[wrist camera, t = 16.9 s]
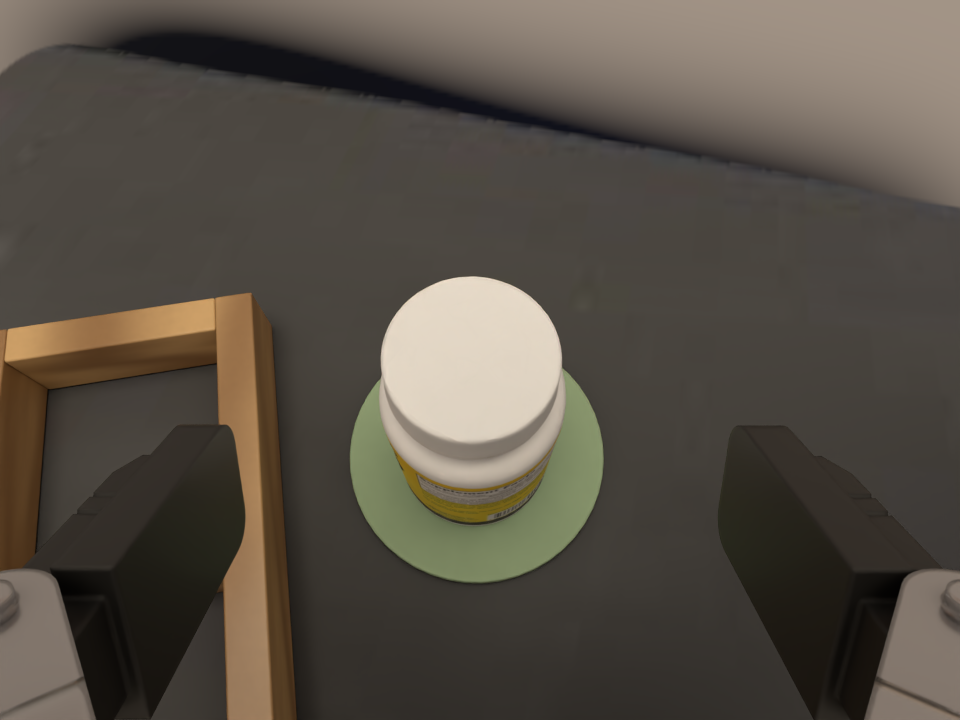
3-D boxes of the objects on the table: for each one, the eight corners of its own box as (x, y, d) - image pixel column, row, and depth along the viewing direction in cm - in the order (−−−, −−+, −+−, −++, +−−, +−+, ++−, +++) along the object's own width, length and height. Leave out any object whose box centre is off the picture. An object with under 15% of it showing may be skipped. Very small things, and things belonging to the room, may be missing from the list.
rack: (272, 325, 25) (251, 291, 23) (307, 879, 18) (283, 912, 16) (15, 364, 24) (-33, 334, 22) (-42, 955, 18) (-120, 999, 15)
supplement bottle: (418, 378, 24) (389, 243, 16) (553, 399, 23) (592, 273, 16) (388, 516, 22) (339, 439, 14) (535, 541, 21) (568, 477, 14)
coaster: (570, 323, 25) (571, 318, 25) (630, 557, 22) (632, 555, 21) (339, 359, 24) (338, 355, 24) (366, 606, 21) (364, 605, 21)
